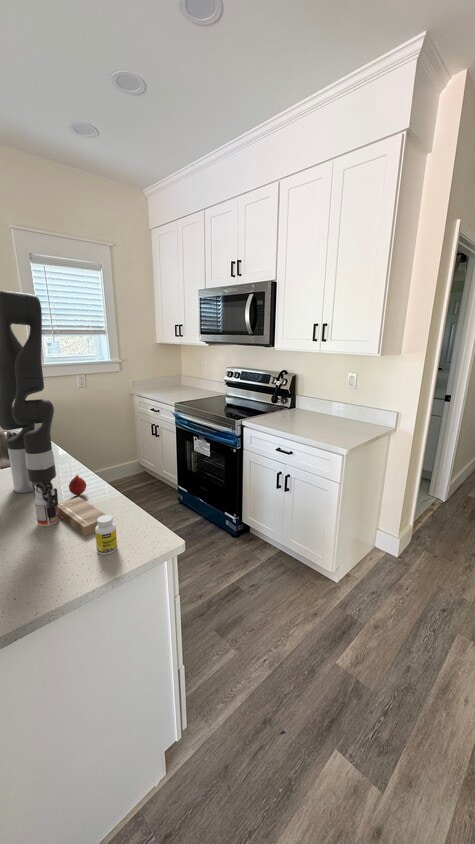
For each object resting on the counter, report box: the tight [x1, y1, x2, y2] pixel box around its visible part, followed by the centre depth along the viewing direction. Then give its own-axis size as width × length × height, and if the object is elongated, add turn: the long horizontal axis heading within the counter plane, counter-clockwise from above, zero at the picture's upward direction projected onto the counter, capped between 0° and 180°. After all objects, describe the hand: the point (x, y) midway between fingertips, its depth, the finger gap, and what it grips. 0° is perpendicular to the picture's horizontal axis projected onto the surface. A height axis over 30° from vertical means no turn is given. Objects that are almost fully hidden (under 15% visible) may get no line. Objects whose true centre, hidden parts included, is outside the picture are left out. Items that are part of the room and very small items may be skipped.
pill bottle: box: [34, 490, 60, 527], centre depth 111 cm, size 6×6×11 cm
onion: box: [68, 474, 87, 497], centre depth 129 cm, size 6×6×8 cm
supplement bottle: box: [94, 514, 118, 556], centre depth 98 cm, size 5×5×10 cm
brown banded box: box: [58, 496, 106, 537], centre depth 114 cm, size 20×8×3 cm, turn 49°
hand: (47, 513), depth 111 cm, fingers closed on pill bottle, 6 cm apart
